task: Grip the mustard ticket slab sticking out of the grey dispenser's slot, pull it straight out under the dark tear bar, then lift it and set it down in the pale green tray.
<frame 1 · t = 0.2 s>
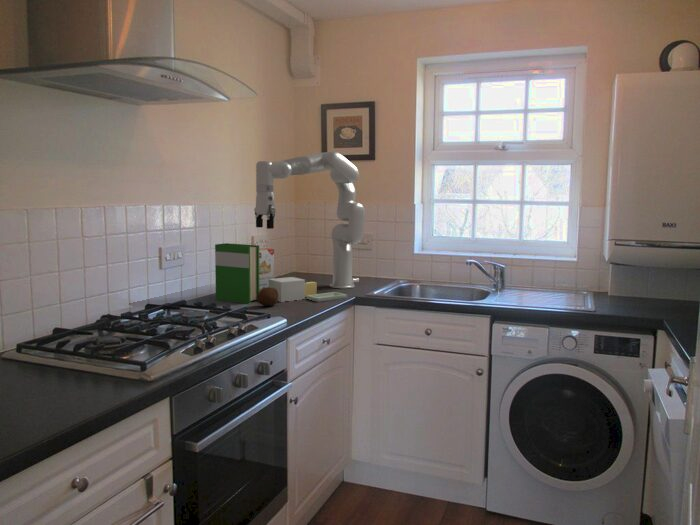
hand: (264, 227, 255), 31 cm above the worktop, tool pointing down, fingers open, 9 cm apart
dispenser: (286, 299, 250), on the worktop
potato: (267, 306, 234), on the worktop
cracker box: (259, 294, 261), on the worktop
hardback book: (237, 300, 246), on the worktop
ticket: (303, 297, 256), on the worktop
tray: (326, 299, 252), on the worktop
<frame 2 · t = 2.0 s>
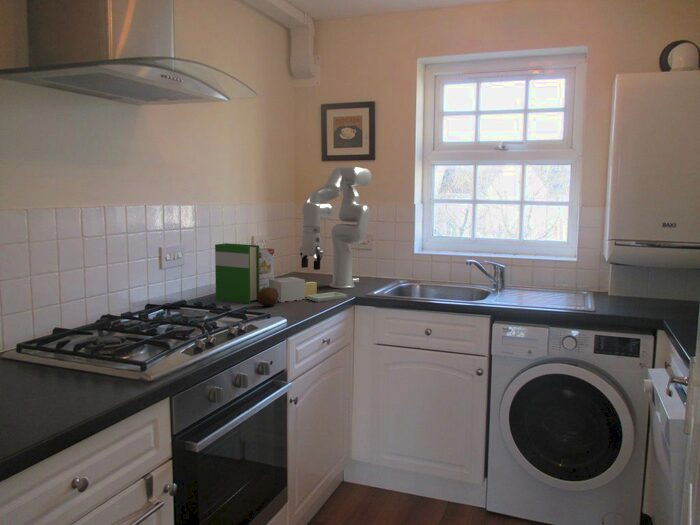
hand: (310, 268, 256), 13 cm above the worktop, tool pointing down, fingers open, 9 cm apart
nothing on the worktop moved.
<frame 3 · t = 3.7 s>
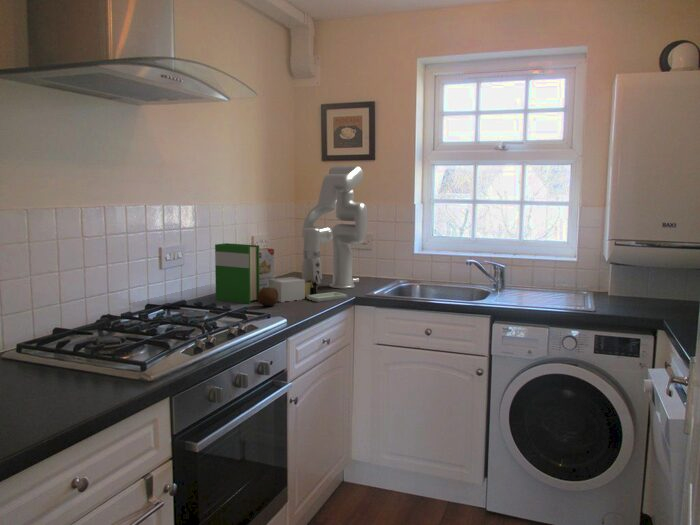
hand: (311, 294, 258), 1 cm above the worktop, tool pointing down, fingers closed on ticket, 2 cm apart
ticket: (303, 297, 256), on the worktop, touching gripper
everything else where it was.
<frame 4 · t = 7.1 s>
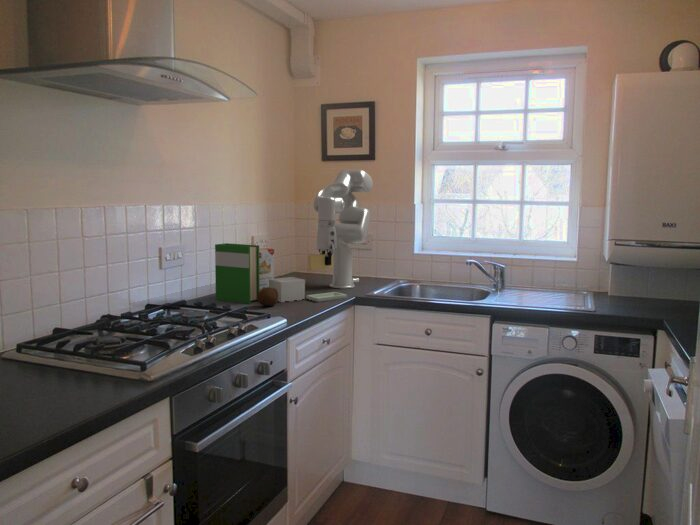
hand: (325, 264, 259), 14 cm above the worktop, tool pointing down, fingers closed on ticket, 3 cm apart
ticket: (320, 269, 257), point 12 cm above the worktop, touching gripper
everything else where it was.
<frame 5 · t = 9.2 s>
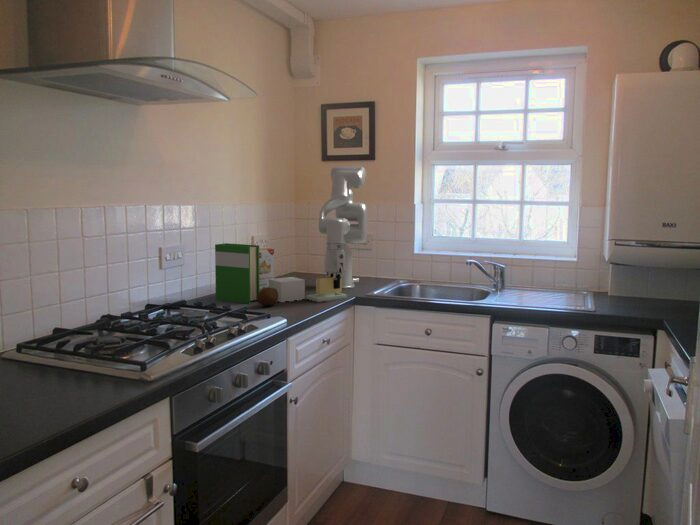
hand: (334, 287, 254), 5 cm above the worktop, tool pointing down, fingers closed on ticket, 3 cm apart
ticket: (329, 292, 252), point 3 cm above the worktop, touching gripper
everything else where it was.
when the fingers open (2 cm above the worktop, at t = 10.4 s): ticket stays where it is, resting on tray.
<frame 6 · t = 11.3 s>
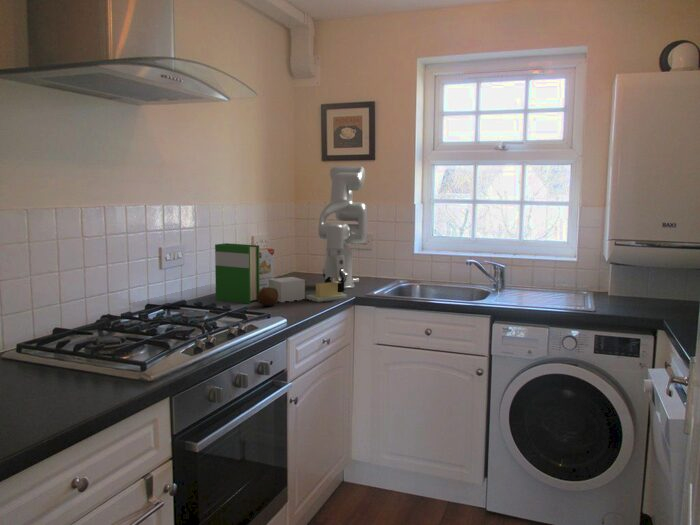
hand: (334, 290, 254), 4 cm above the worktop, tool pointing down, fingers open, 9 cm apart
ticket: (328, 297, 252), point 1 cm above the worktop, touching tray
everything else where it was.
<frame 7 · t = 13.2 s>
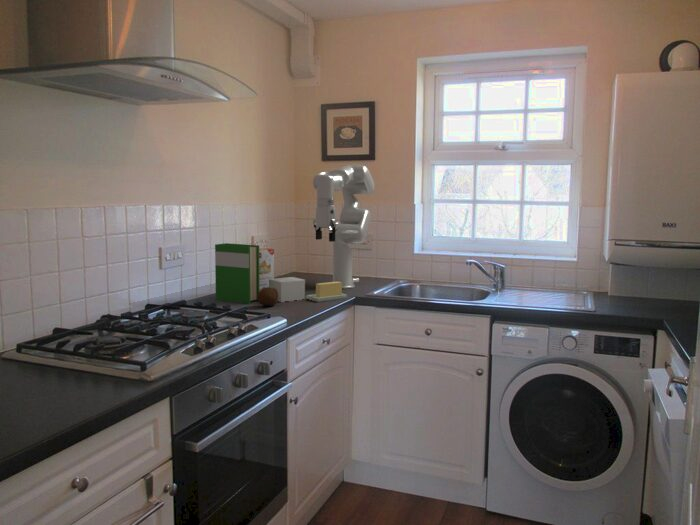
hand: (325, 240, 259), 25 cm above the worktop, tool pointing down, fingers open, 9 cm apart
nothing on the worktop moved.
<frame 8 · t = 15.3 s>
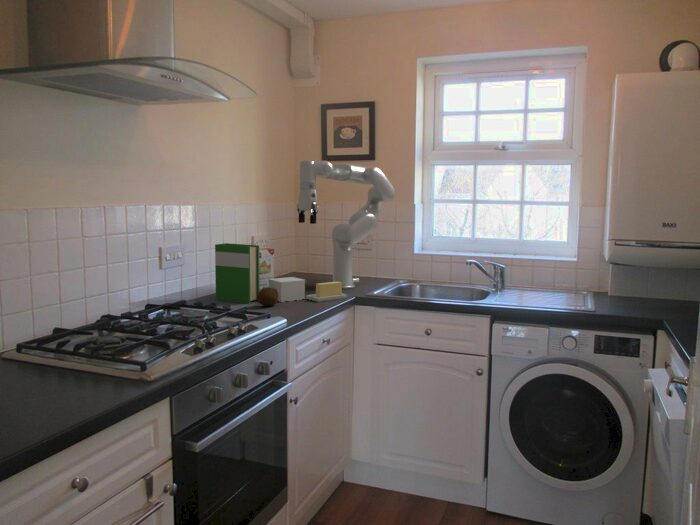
hand: (307, 223, 271), 32 cm above the worktop, tool pointing down, fingers open, 9 cm apart
nothing on the worktop moved.
at the end: ticket inside the target area on the tray (1.0 cm from its centre), point 0.6 cm above the tray's base; ticket touching tray; the gripper is holding nothing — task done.
